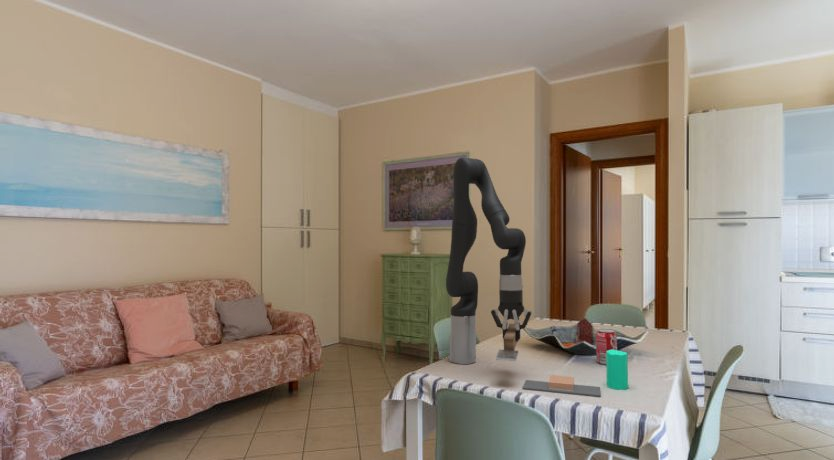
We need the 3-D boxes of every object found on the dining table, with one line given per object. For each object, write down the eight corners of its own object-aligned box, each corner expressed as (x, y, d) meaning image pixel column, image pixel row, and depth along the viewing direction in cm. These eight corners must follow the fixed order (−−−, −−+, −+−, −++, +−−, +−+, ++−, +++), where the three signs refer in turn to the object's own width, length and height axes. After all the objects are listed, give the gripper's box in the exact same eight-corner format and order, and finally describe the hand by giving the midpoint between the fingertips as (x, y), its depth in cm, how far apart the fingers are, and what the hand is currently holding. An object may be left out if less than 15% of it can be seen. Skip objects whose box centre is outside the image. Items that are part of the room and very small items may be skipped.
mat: (522, 389, 141) (522, 387, 141) (525, 381, 149) (525, 379, 149) (600, 397, 134) (600, 395, 134) (600, 388, 141) (600, 386, 142)
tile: (550, 381, 147) (548, 388, 140) (550, 374, 147) (548, 382, 140) (574, 383, 145) (573, 391, 137) (573, 377, 145) (573, 384, 138)
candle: (603, 383, 146) (602, 345, 146) (621, 383, 147) (621, 344, 147) (612, 390, 140) (612, 349, 140) (631, 389, 141) (631, 349, 141)
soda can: (616, 361, 172) (616, 329, 173) (618, 366, 166) (617, 332, 166) (596, 360, 175) (595, 327, 175) (596, 365, 168) (596, 331, 168)
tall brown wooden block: (505, 335, 162) (505, 323, 161) (523, 336, 160) (522, 324, 159) (496, 359, 144) (495, 346, 143) (515, 361, 142) (515, 347, 141)
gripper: (487, 289, 154) (488, 341, 153) (531, 290, 149) (532, 344, 149) (491, 286, 161) (492, 337, 160) (533, 287, 156) (534, 340, 156)
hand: (511, 340), depth 155 cm, fingers closed on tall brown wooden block, 3 cm apart
